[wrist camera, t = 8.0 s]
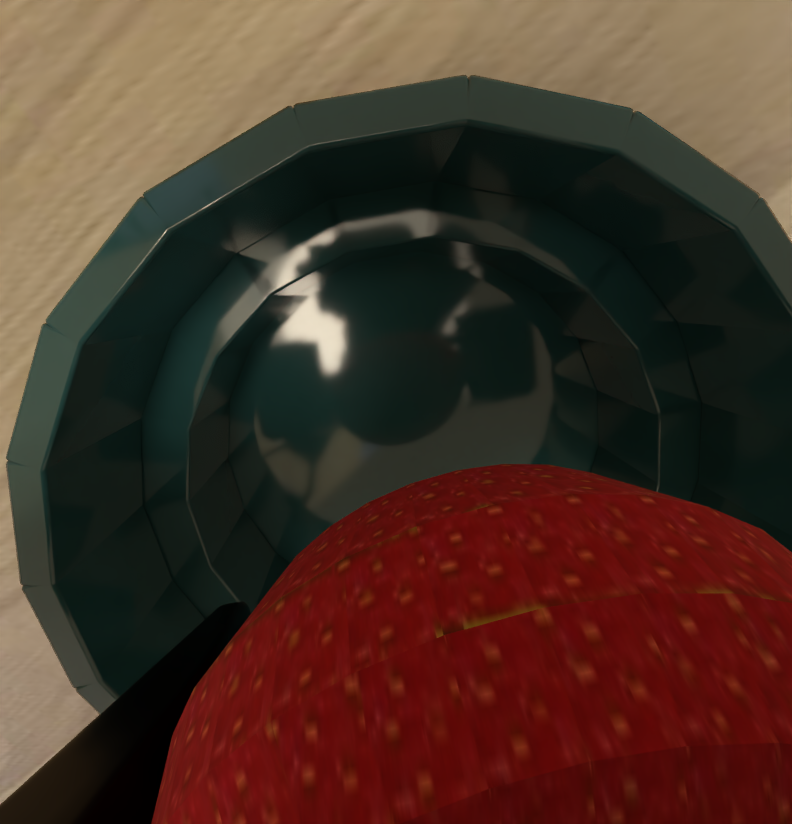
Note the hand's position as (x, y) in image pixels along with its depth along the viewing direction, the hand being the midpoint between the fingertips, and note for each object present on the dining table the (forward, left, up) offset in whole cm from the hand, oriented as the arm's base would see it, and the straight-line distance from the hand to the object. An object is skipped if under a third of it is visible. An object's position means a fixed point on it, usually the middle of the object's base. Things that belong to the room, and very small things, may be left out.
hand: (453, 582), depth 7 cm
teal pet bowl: (0, 0, -7) cm, 7 cm away
